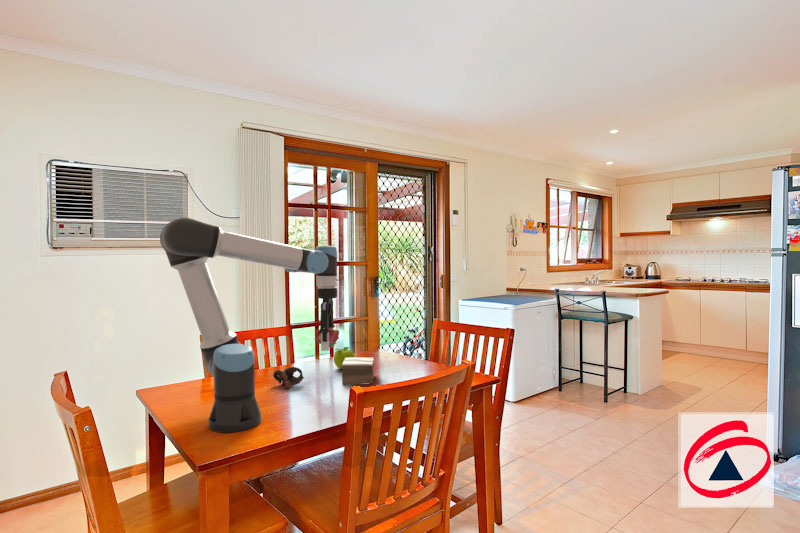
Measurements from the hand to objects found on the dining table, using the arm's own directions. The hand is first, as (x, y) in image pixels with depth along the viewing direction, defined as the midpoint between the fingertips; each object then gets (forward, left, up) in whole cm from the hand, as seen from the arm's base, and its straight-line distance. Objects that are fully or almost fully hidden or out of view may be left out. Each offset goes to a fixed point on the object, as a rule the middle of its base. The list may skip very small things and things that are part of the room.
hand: (327, 347), depth 169 cm
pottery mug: (+10, +17, -17) cm, 26 cm away
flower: (0, 0, 0) cm, 1 cm away
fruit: (+34, -2, -17) cm, 38 cm away
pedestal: (+16, -10, -17) cm, 25 cm away
